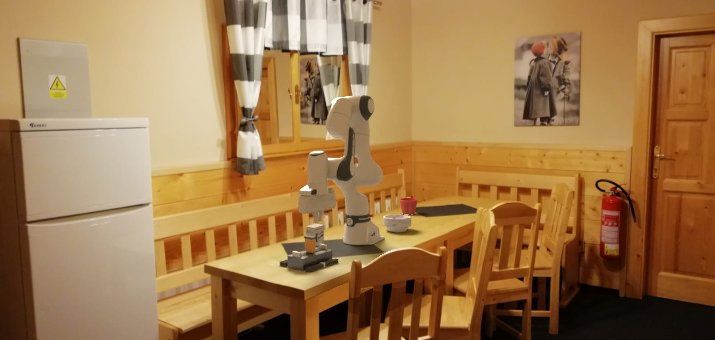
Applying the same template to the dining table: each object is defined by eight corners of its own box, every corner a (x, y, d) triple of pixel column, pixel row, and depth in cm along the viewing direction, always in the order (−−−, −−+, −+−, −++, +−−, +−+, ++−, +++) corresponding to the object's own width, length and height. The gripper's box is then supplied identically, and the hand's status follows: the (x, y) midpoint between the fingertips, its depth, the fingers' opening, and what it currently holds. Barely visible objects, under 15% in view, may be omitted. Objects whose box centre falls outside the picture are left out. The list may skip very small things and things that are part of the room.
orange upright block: (307, 250, 233) (307, 235, 232) (316, 251, 230) (315, 236, 229) (304, 251, 231) (303, 236, 231) (312, 252, 228) (312, 237, 228)
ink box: (314, 252, 250) (314, 227, 249) (305, 251, 253) (305, 226, 252) (324, 248, 258) (324, 223, 257) (315, 247, 260) (315, 223, 259)
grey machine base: (317, 258, 241) (316, 242, 240) (332, 261, 235) (332, 245, 235) (287, 267, 227) (287, 250, 226) (303, 271, 221) (302, 254, 221)
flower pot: (412, 216, 334) (412, 201, 333) (396, 215, 340) (396, 199, 339) (420, 213, 343) (420, 198, 342) (404, 212, 349) (404, 197, 348)
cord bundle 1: (309, 256, 244) (309, 252, 244) (315, 257, 242) (315, 253, 241) (279, 265, 230) (279, 261, 230) (285, 266, 228) (285, 262, 228)
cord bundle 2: (334, 261, 234) (334, 257, 234) (338, 262, 233) (338, 258, 233) (305, 271, 221) (305, 267, 220) (309, 272, 219) (309, 268, 219)
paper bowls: (404, 226, 305) (404, 212, 304) (415, 232, 290) (415, 217, 289) (379, 229, 300) (379, 214, 299) (389, 234, 286) (389, 219, 285)
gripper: (328, 186, 242) (328, 217, 243) (295, 191, 226) (296, 224, 228) (339, 187, 238) (339, 218, 239) (306, 192, 222) (307, 225, 224)
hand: (318, 221), depth 233 cm, fingers closed
